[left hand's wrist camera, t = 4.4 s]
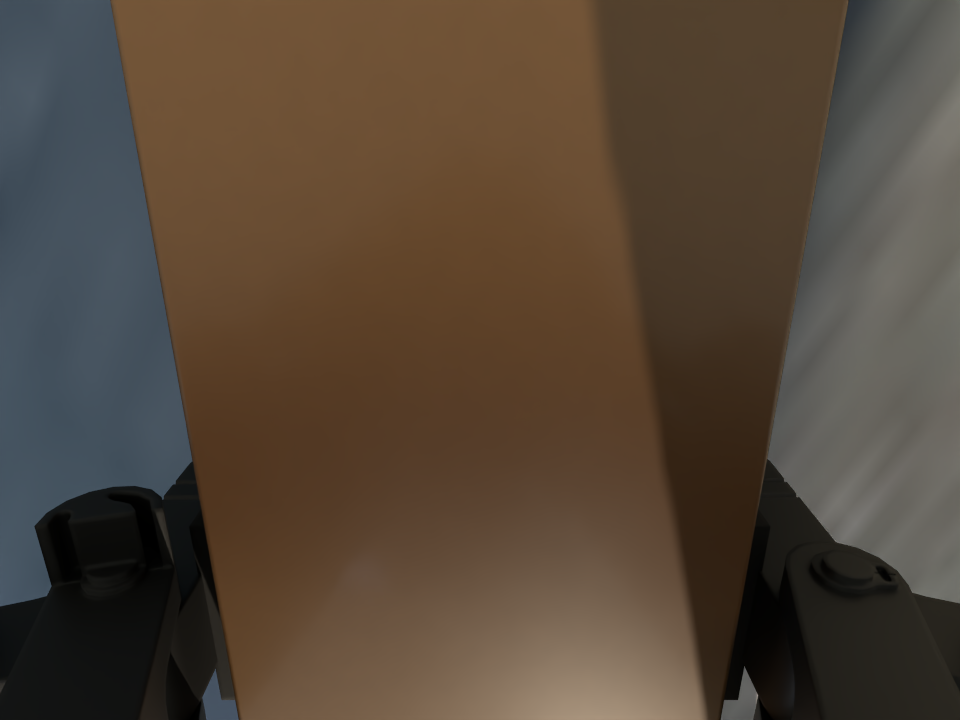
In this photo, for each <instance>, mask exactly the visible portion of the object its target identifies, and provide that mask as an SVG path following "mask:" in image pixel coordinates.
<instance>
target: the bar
mask: <svg viewBox="0 0 960 720" xmlns="http://www.w3.org/2000/svg"><path fill="white" fill-rule="evenodd" d="M110 1H111V7H112V12H113V18H114V24H115V29H116V35H117V40H118V46H119V52H120V57H121V63H122V68H123V74H124V80H125V85H126V91H127V96H128V102H129V108H130V113H131V119H132V124H133V130H134V136H135V141H136V147H137V152H138V158H139V164H140V169H141V175H142V180H143V186H144V192H145V197H146V203H147V208H148V214H149V220H150V225H151V231H152V236H153V242H154V247H155V253H156V259H157V264H158V270H159V275H160V281H161V287H162V292H163V298H164V303H165V309H166V315H167V320H168V326H169V331H170V337H171V343H172V348H173V354H174V359H175V365H176V371H177V376H178V382H179V387H180V393H181V399H182V404H183V410H184V415H185V421H186V427H187V432H188V438H189V443H190V449H191V455H192V460H193V466H194V471H195V477H196V483H197V488H198V494H199V499H200V505H201V511H202V516H203V522H204V527H205V533H206V539H207V544H208V550H209V555H210V561H211V567H212V572H213V578H214V583H215V589H216V594H217V600H218V606H219V611H220V617H221V622H222V628H223V634H224V639H225V645H226V650H227V656H228V662H229V667H230V673H231V678H232V684H233V690H234V695H235V701H236V706H237V712H238V718H239V720H721V714H722V708H723V703H724V697H725V692H726V686H727V680H728V675H729V669H730V664H731V658H732V652H733V647H734V641H735V636H736V630H737V624H738V619H739V613H740V607H741V602H742V596H743V591H744V585H745V579H746V574H747V568H748V563H749V557H750V551H751V546H752V540H753V535H754V529H755V523H756V518H757V512H758V506H759V501H760V495H761V490H762V484H763V478H764V473H765V467H766V462H767V456H768V450H769V445H770V439H771V434H772V428H773V422H774V417H775V411H776V405H777V400H778V394H779V389H780V383H781V377H782V372H783V366H784V361H785V355H786V349H787V344H788V338H789V333H790V327H791V321H792V316H793V310H794V304H795V299H796V293H797V288H798V282H799V276H800V271H801V265H802V260H803V254H804V248H805V243H806V237H807V231H808V226H809V220H810V215H811V209H812V203H813V198H814V192H815V187H816V181H817V175H818V170H819V164H820V159H821V153H822V147H823V142H824V136H825V130H826V125H827V119H828V114H829V108H830V102H831V97H832V91H833V86H834V80H835V74H836V69H837V63H838V58H839V52H840V46H841V41H842V35H843V29H844V24H845V18H846V13H847V7H848V1H849V0H110Z"/></svg>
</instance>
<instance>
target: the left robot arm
mask: <svg viewBox="0 0 960 720" xmlns="http://www.w3.org/2000/svg"><path fill="white" fill-rule="evenodd" d="M35 530H36V533H37V537H38V540H39V544H40V547H41V550H42V554H43V557H44V561H45V564H46V568H47V571H48V575H49V578H50V582H51V585H52V587H51V589H50V591H49V593H48V595H47V596H46V597H42V598H38V599H34V600H30V601H25V602H20V603H15V604H10V605H6V606H1V607H0V720H206V715H205V709H204V704H203V699H202V696H203V694H204V692H205V690H206V688H207V686H208V684H209V681H210V679H211V677H212V675H213V673H214V671H215V669H216V673H217V678H218V683H219V689H220V694H221V699H222V700H235V695H234V690H233V684H232V678H231V673H230V667H229V662H228V656H227V650H226V645H225V639H224V634H223V628H222V622H221V617H220V611H219V606H218V600H217V594H216V589H215V583H214V578H213V572H212V567H211V561H210V555H209V550H208V544H207V539H206V533H205V527H204V522H203V516H202V511H201V505H200V499H199V494H198V488H197V483H196V477H195V471H194V466H193V462H191V463H190V464H189V465H188V467H187V468H186V469H185V470H184V472H183V473H182V474H181V475H180V477H179V478H178V479H177V480H176V485H172V486H171V488H170V489H169V490H168V491H167V493H166V494H165V495H164V500H162V497H161V496H159V495H158V494H157V493H155V492H154V491H153V490H151V489H146V488H142V487H137V486H124V487H111V488H106V489H101V490H97V491H92V492H88V493H86V494H83V495H81V496H78V497H75V498H73V499H70V500H68V501H66V502H64V503H62V504H61V505H59V506H57V507H56V508H54V509H53V510H51V511H49V512H48V513H46V514H45V516H44V517H43V518H42V519H41V520H40V521H39V522H38V523H37V524H36V525H35ZM744 666H745V668H746V670H747V672H748V675H749V677H750V679H751V681H752V683H753V685H754V687H755V689H756V692H757V694H758V699H757V704H756V709H755V714H754V719H753V720H960V604H959V603H954V602H950V601H945V600H940V599H935V598H930V597H925V596H922V595H918V594H914V593H912V592H911V590H910V588H909V585H908V584H907V583H906V582H905V580H904V579H903V578H902V576H901V575H900V574H899V573H898V571H897V570H895V569H894V568H893V567H891V566H890V565H888V564H887V563H886V562H884V561H883V560H881V559H880V558H878V557H876V556H874V555H872V554H870V553H867V552H865V551H863V550H861V549H858V548H856V547H852V546H848V545H844V544H840V543H836V542H835V541H834V540H833V538H832V537H831V536H830V535H829V533H828V532H827V531H826V530H825V529H824V527H823V526H822V525H821V524H820V522H819V521H818V520H817V519H816V517H815V516H814V515H813V514H812V513H811V511H810V510H809V509H808V508H807V506H806V505H805V504H804V503H803V501H802V500H801V499H800V498H799V497H796V493H795V492H794V490H793V489H792V488H791V487H790V485H789V484H788V483H787V482H784V478H783V477H782V475H781V474H780V473H779V472H778V471H777V469H776V468H775V467H774V466H773V464H772V463H771V462H770V461H769V460H768V459H767V462H766V467H765V473H764V478H763V484H762V490H761V495H760V501H759V506H758V512H757V518H756V523H755V529H754V535H753V540H752V546H751V551H750V557H749V563H748V568H747V574H746V579H745V585H744V591H743V596H742V602H741V607H740V613H739V619H738V624H737V630H736V636H735V641H734V647H733V652H732V658H731V664H730V669H729V675H728V680H727V686H726V692H725V697H724V700H738V697H739V691H740V686H741V681H742V676H743V670H744Z"/></svg>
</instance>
